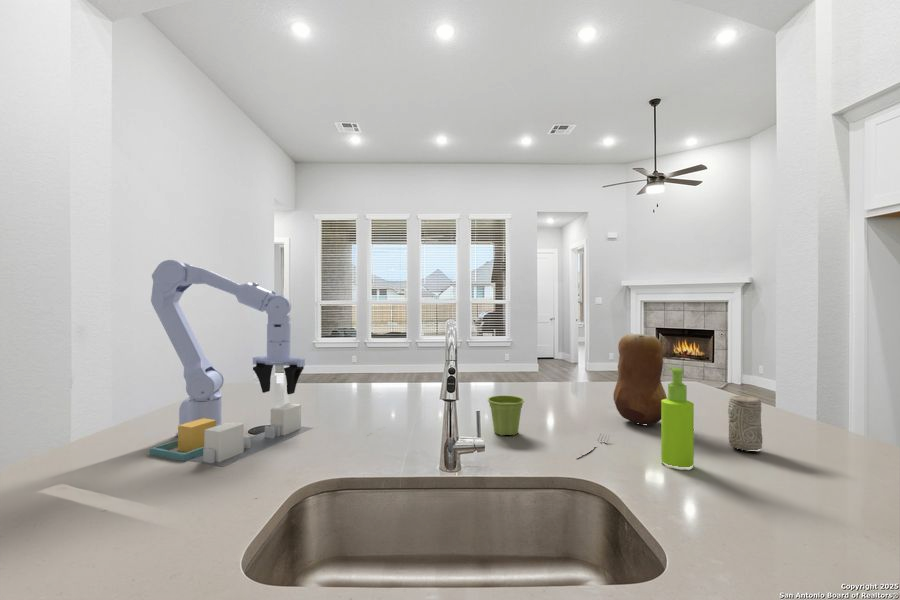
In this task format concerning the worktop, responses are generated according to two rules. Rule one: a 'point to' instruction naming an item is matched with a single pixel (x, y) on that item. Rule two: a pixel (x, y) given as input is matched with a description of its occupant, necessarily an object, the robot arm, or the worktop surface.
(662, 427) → the soap dispenser
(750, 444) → the carving
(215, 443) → the block
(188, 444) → the yellow rectangular block
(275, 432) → the board
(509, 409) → the plant pot
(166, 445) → the tray
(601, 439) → the fork
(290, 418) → the block
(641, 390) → the butternut squash
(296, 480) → the worktop surface
